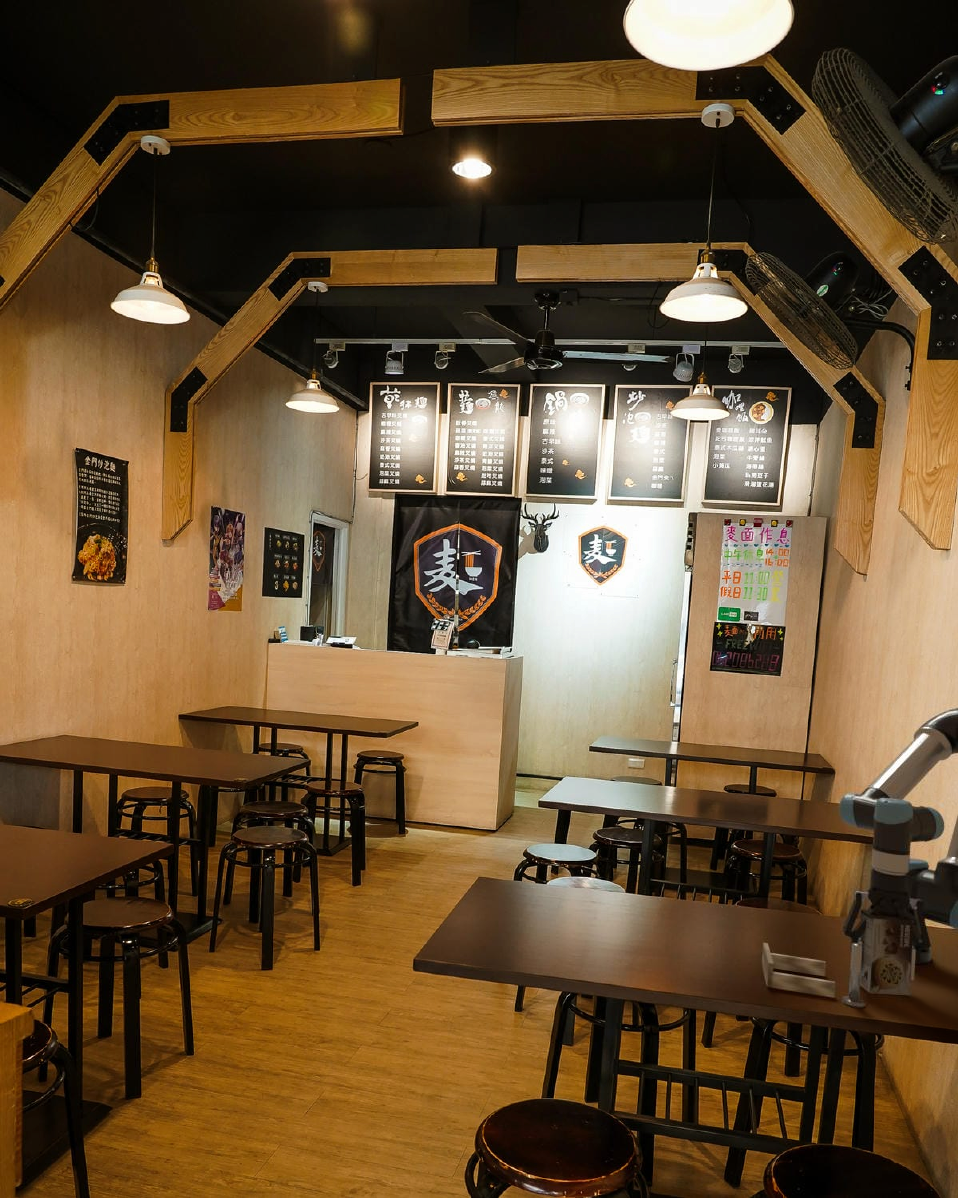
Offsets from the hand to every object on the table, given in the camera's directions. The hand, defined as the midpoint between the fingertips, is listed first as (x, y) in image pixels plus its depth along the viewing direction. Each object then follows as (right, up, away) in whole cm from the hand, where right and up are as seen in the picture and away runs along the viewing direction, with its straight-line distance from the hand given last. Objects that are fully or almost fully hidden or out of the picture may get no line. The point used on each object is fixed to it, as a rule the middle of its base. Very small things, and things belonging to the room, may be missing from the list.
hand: (883, 974), depth 195 cm
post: (-11, -2, -10) cm, 15 cm away
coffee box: (0, -3, 0) cm, 4 cm away
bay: (-19, -2, +1) cm, 19 cm away
